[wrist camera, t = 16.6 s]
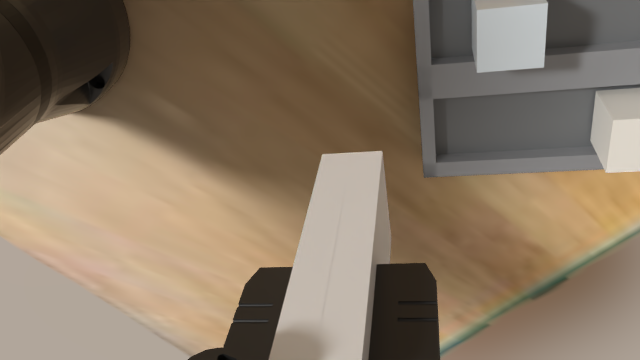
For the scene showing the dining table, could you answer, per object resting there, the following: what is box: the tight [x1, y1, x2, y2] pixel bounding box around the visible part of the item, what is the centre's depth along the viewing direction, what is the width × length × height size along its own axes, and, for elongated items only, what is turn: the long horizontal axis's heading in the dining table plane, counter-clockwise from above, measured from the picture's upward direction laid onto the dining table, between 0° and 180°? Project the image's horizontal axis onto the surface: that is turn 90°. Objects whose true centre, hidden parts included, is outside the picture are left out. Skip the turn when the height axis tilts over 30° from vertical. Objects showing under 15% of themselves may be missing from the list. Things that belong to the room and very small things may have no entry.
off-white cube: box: [590, 88, 640, 173], centre depth 40 cm, size 4×4×4 cm
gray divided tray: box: [413, 0, 640, 178], centre depth 41 cm, size 20×16×3 cm
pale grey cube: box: [471, 0, 548, 73], centre depth 37 cm, size 4×4×4 cm
